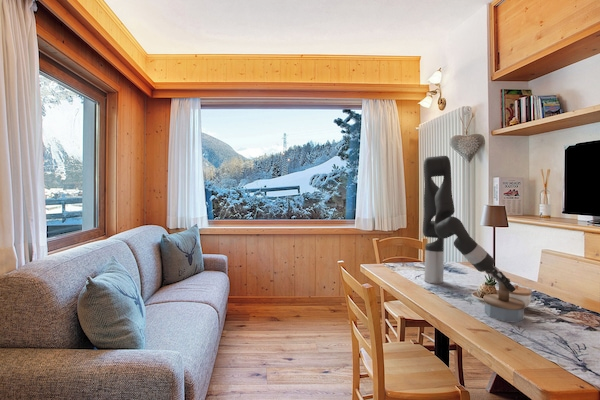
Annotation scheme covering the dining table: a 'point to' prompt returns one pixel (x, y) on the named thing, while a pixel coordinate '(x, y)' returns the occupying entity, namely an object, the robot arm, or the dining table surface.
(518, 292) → the lidded jar
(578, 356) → the dining table surface
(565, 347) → the dining table surface
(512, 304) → the walnut lid
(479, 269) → the robot arm
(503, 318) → the ceramic bowl
